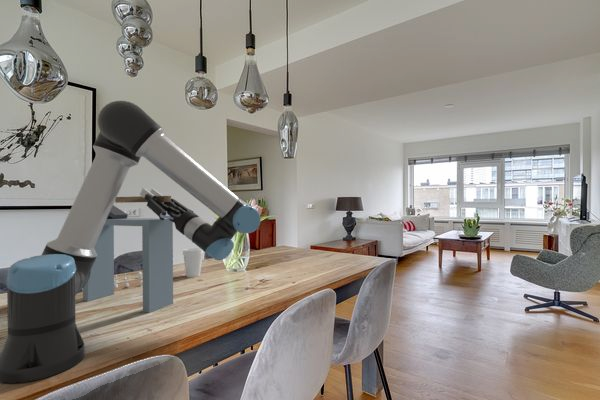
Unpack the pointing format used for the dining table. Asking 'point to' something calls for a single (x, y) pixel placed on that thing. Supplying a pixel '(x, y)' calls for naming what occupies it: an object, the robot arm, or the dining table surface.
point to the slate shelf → (154, 262)
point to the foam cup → (193, 261)
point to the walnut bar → (141, 199)
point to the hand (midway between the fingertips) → (146, 191)
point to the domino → (117, 213)
